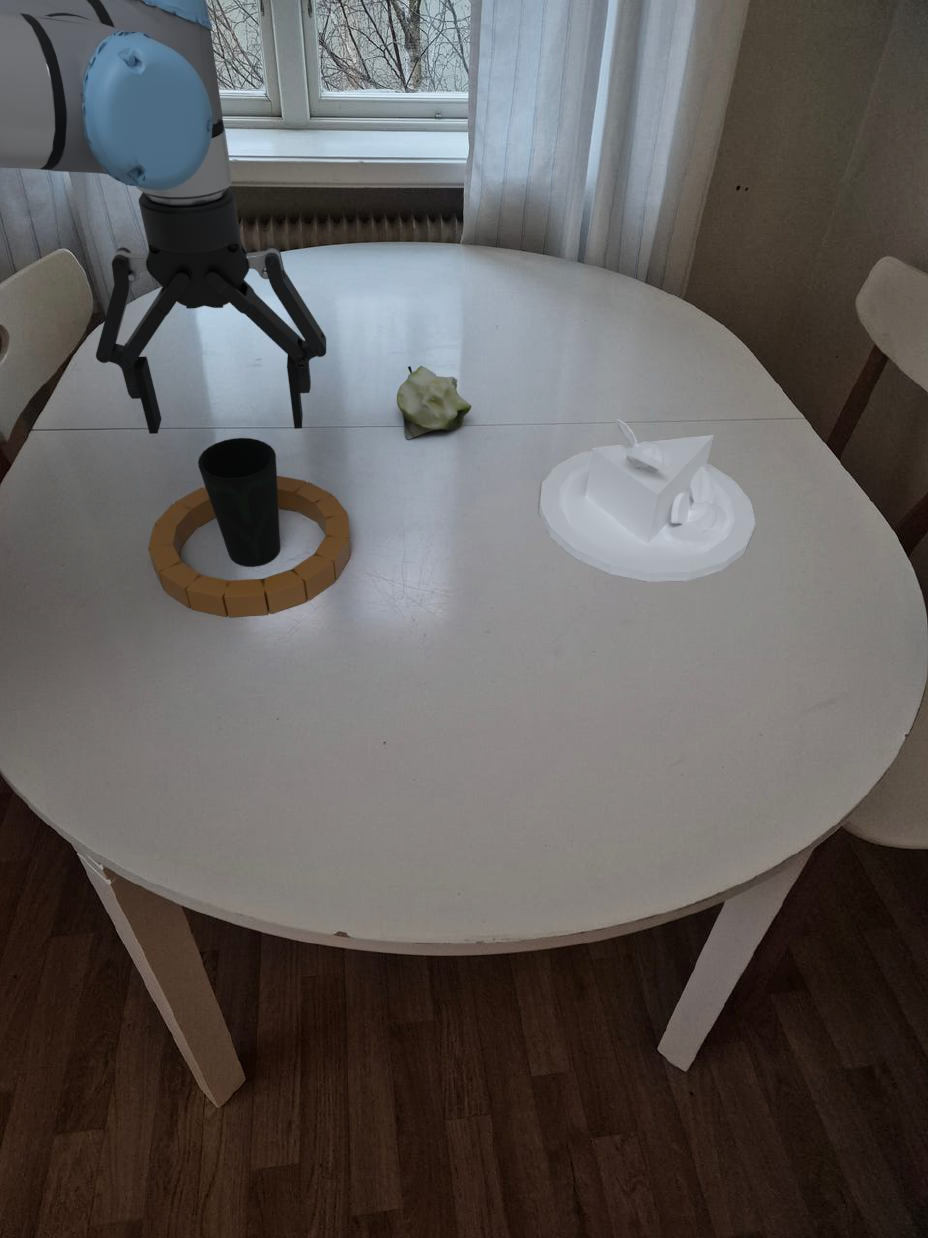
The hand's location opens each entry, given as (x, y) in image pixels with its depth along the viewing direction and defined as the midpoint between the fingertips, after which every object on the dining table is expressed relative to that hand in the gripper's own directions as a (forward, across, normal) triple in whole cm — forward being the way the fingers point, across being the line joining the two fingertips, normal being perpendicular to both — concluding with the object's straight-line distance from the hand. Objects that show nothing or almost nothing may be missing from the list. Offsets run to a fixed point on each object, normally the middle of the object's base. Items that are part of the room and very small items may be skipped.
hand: (227, 424), depth 84 cm
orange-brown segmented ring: (+16, 0, 0) cm, 16 cm away
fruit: (+16, +22, +25) cm, 37 cm away
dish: (+16, +45, +3) cm, 48 cm away
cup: (+16, 0, 0) cm, 16 cm away
